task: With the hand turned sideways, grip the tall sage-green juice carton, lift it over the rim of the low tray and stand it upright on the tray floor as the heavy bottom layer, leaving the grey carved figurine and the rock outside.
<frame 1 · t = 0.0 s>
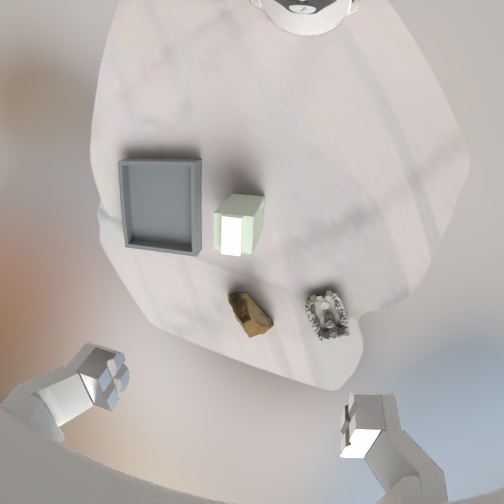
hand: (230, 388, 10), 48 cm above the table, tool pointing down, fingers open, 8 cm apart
rock: (252, 309, 67), on the table
juice carton: (247, 210, 58), on the table
tray: (163, 203, 60), on the table
grey carved figurine: (328, 310, 64), on the table
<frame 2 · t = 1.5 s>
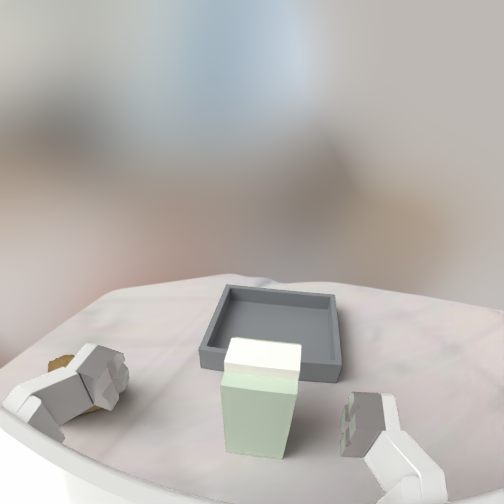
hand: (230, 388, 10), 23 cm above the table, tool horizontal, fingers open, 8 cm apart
rock: (82, 405, 32), on the table
juice carton: (258, 434, 30), on the table
tray: (274, 338, 46), on the table
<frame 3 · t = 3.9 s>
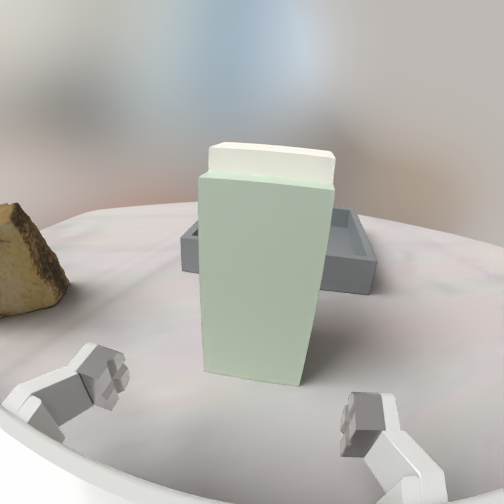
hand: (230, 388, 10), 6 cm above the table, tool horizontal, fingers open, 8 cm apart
rock: (17, 307, 22), on the table
juice carton: (258, 348, 21), on the table
tray: (281, 248, 36), on the table
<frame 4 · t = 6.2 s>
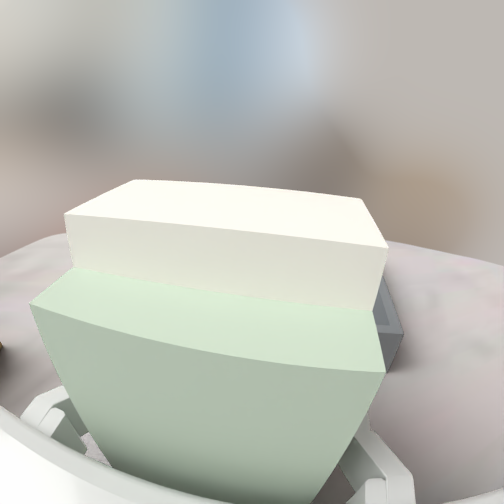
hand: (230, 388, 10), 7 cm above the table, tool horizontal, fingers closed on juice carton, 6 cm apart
juice carton: (226, 480, 12), on the table, touching gripper
tray: (271, 296, 27), on the table
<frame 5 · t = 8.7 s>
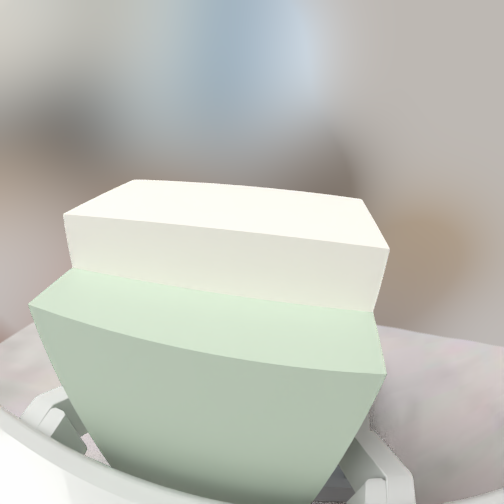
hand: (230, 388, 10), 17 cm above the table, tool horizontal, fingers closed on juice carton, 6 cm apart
juice carton: (226, 480, 12), point 10 cm above the table, touching gripper
tray: (255, 418, 26), on the table
when the fingers open (9 cm above the table, at t = 11.5 s): juice carton drops 1 cm, resting on tray.
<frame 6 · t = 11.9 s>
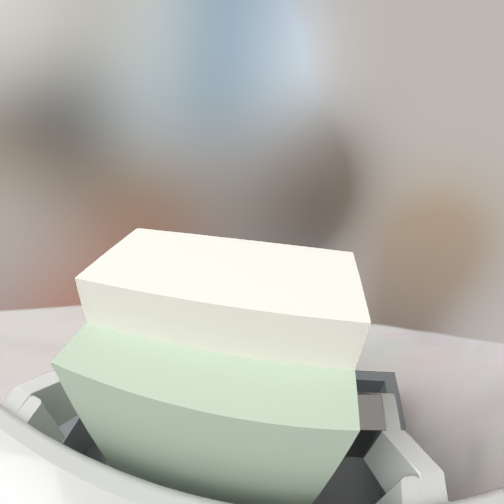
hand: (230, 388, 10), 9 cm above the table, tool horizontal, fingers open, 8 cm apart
juice carton: (227, 489, 13), point 1 cm above the table, touching tray
tray: (227, 494, 13), on the table
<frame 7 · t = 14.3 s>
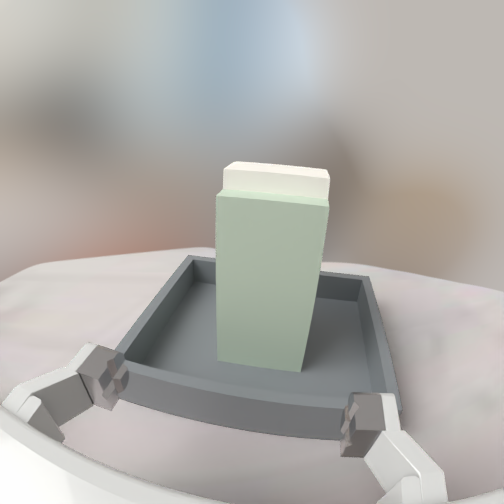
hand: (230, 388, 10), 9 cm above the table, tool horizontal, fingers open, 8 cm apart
juice carton: (264, 340, 24), point 1 cm above the table, touching tray
tray: (263, 349, 24), on the table
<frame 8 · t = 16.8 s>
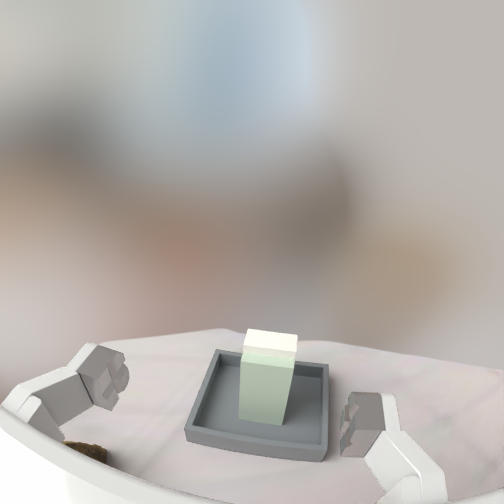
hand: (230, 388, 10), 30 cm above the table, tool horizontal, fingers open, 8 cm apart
rock: (72, 470, 28), on the table
juice carton: (263, 406, 41), point 1 cm above the table, touching tray
tray: (262, 410, 42), on the table
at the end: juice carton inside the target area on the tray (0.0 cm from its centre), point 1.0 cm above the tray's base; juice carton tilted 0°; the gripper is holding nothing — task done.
